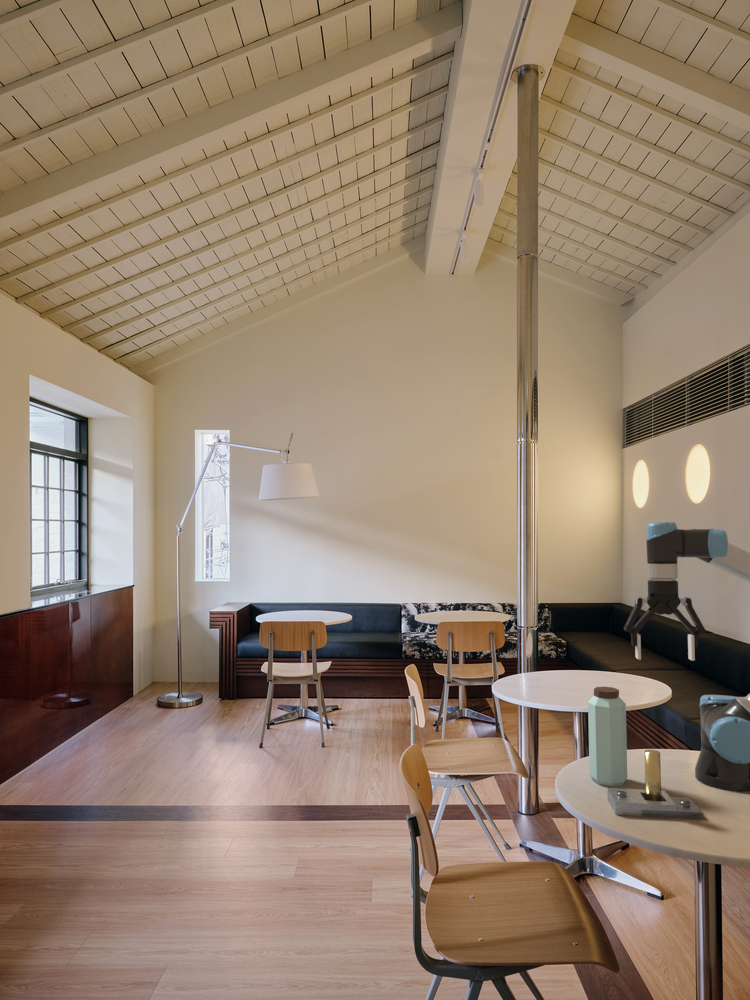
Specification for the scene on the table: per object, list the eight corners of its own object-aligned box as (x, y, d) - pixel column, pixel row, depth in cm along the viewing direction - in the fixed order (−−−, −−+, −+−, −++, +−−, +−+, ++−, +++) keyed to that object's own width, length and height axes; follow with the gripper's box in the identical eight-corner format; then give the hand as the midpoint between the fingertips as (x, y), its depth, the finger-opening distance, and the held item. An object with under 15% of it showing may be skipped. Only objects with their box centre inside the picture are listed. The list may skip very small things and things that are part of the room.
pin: (659, 806, 164) (657, 749, 165) (663, 812, 161) (662, 754, 162) (644, 806, 165) (642, 749, 166) (648, 812, 161) (646, 754, 162)
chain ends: (689, 803, 166) (689, 788, 166) (702, 819, 157) (702, 803, 157) (607, 799, 169) (607, 785, 169) (615, 814, 160) (615, 799, 160)
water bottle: (630, 789, 176) (628, 694, 177) (591, 786, 178) (589, 692, 179) (624, 775, 186) (622, 686, 187) (587, 773, 188) (585, 684, 189)
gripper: (706, 578, 179) (709, 657, 178) (611, 578, 182) (613, 655, 181) (717, 580, 171) (719, 662, 170) (617, 580, 175) (619, 660, 173)
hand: (664, 659), depth 176 cm, fingers open, 13 cm apart
